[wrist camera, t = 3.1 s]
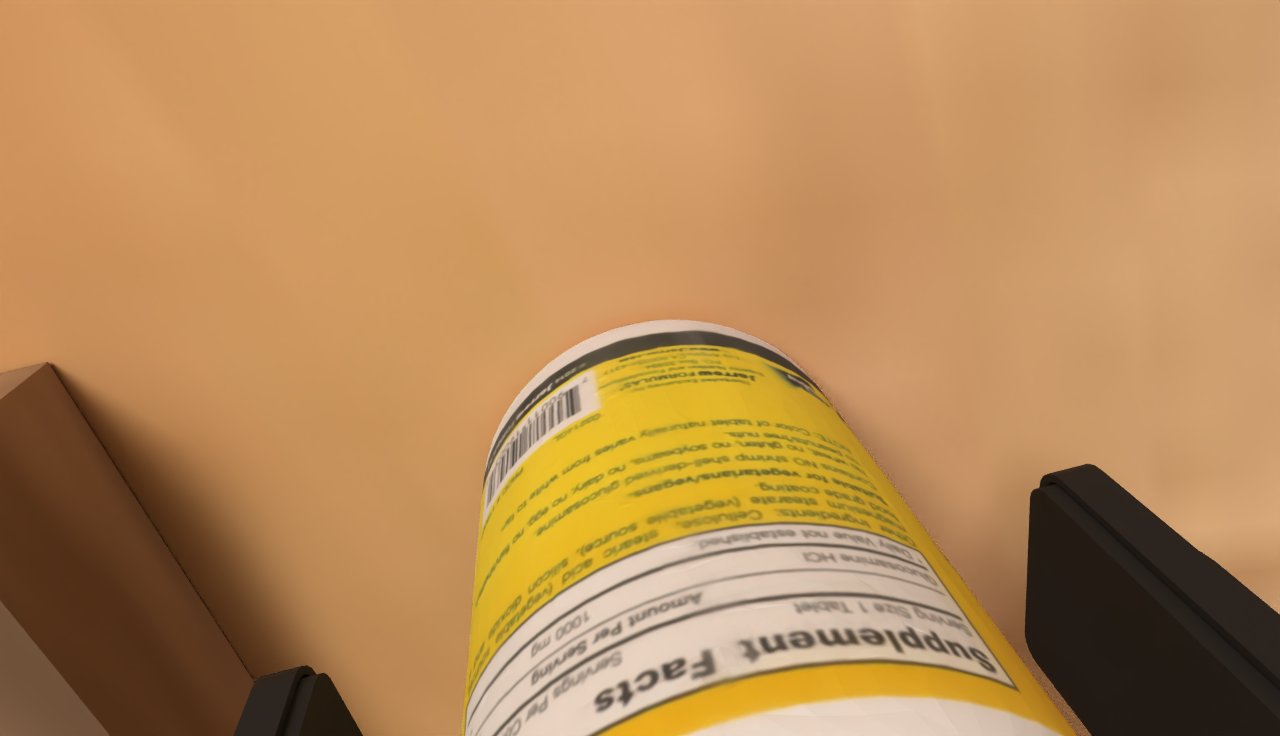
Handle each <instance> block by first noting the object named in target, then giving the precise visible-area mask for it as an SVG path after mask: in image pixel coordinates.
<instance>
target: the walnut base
mask: <svg viewBox="0 0 1280 736" xmlns="http://www.w3.org/2000/svg"><path fill="white" fill-rule="evenodd" d="M254 683H255V682H254V681H253V679H252V678H251V676H250V675H249V673H248V672H247V670H246V669H245V667H244V665H243V664H242V662H241V661H240V659H239V658H238V656H237V655H236V653H235V651H234V650H233V648H232V647H231V645H230V644H229V642H228V641H227V639H226V637H225V636H224V634H223V633H222V631H221V630H220V628H219V627H218V625H217V624H216V622H215V620H214V619H213V617H212V616H211V614H210V613H209V611H208V610H207V608H206V606H205V605H204V603H203V602H202V600H201V599H200V597H199V596H198V594H197V593H196V591H195V589H194V588H193V586H192V585H191V583H190V582H189V580H188V579H187V577H186V575H185V574H184V572H183V571H182V569H181V568H180V566H179V565H178V563H177V561H176V560H175V558H174V557H173V555H172V554H171V552H170V551H169V549H168V548H167V546H166V544H165V543H164V541H163V540H162V538H161V537H160V535H159V534H158V532H157V530H156V529H155V527H154V526H153V524H152V523H151V521H150V520H149V518H148V516H147V515H146V513H145V512H144V510H143V509H142V507H141V506H140V504H139V503H138V501H137V499H136V498H135V496H134V495H133V493H132V492H131V490H130V489H129V487H128V485H127V484H126V482H125V481H124V479H123V478H122V476H121V475H120V473H119V471H118V470H117V468H116V467H115V465H114V464H113V462H112V461H111V459H110V458H109V456H108V454H107V453H106V451H105V450H104V448H103V447H102V445H101V444H100V442H99V440H98V439H97V437H96V436H95V434H94V433H93V431H92V430H91V428H90V427H89V425H88V423H87V422H86V420H85V419H84V417H83V416H82V414H81V413H80V411H79V409H78V408H77V406H76V405H75V403H74V402H73V400H72V399H71V397H70V395H69V394H68V392H67V391H66V389H65V388H64V386H63V385H62V383H61V382H60V380H59V378H58V377H57V375H56V374H55V372H54V371H53V369H52V368H51V366H50V364H49V363H48V362H46V363H42V364H38V365H34V366H29V367H25V368H21V369H17V370H13V371H9V372H5V373H1V374H0V736H233V735H234V733H235V730H236V727H237V725H238V722H239V720H240V717H241V715H242V712H243V709H244V707H245V704H246V702H247V699H248V697H249V694H250V691H251V689H252V687H253V685H254Z"/></svg>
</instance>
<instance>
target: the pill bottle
mask: <svg viewBox="0 0 1280 736" xmlns="http://www.w3.org/2000/svg"><path fill="white" fill-rule="evenodd" d="M461 736H1078V735H1077V734H1076V733H1075V731H1074V730H1073V729H1072V727H1071V726H1070V725H1069V723H1068V722H1067V721H1066V719H1065V718H1064V717H1063V715H1062V714H1061V713H1060V711H1059V710H1058V708H1057V707H1056V706H1055V704H1054V703H1053V702H1052V700H1051V699H1050V698H1049V696H1048V695H1047V694H1046V692H1045V691H1044V690H1043V688H1042V687H1041V686H1040V684H1039V683H1038V682H1037V680H1036V679H1035V677H1034V676H1033V675H1032V673H1031V672H1030V671H1029V669H1028V668H1027V667H1026V665H1025V664H1024V663H1023V661H1022V660H1021V659H1020V657H1019V656H1018V655H1017V653H1016V652H1015V651H1014V649H1013V648H1012V646H1011V645H1010V644H1009V642H1008V641H1007V640H1006V638H1005V637H1004V636H1003V634H1002V633H1001V631H1000V630H999V629H998V627H997V626H996V625H995V623H994V622H993V621H992V619H991V618H990V616H989V615H988V614H987V612H986V611H985V610H984V608H983V607H982V606H981V604H980V603H979V602H978V600H977V599H976V597H975V596H974V595H973V593H972V592H971V591H970V589H969V588H968V586H967V585H966V584H965V582H964V581H963V579H962V578H961V577H960V575H959V574H958V573H957V571H956V570H955V569H954V568H953V566H952V565H951V564H950V562H949V561H948V560H947V559H946V557H945V556H944V555H943V553H942V552H941V551H940V549H939V548H938V546H937V545H936V544H935V542H934V541H933V540H932V538H931V537H930V535H929V534H928V533H927V531H926V530H925V529H924V527H923V526H922V525H921V523H920V522H919V521H918V519H917V518H916V517H915V515H914V514H913V513H912V511H911V510H910V509H909V507H908V506H907V504H906V503H905V502H904V500H903V499H902V497H901V496H900V495H899V493H898V492H897V490H896V489H895V488H894V486H893V485H892V483H891V482H890V481H889V479H888V478H887V477H886V475H885V474H884V473H883V471H882V470H881V469H880V467H879V466H878V465H877V464H876V462H875V461H874V460H873V459H872V457H871V456H870V455H869V453H868V452H867V451H866V449H865V448H864V447H863V445H862V444H861V443H860V442H859V440H858V439H857V438H856V436H855V435H854V433H853V432H852V431H851V429H850V428H849V427H848V425H847V424H846V423H845V421H844V420H843V419H842V417H841V416H840V415H839V413H838V412H837V410H836V409H835V408H834V407H833V405H832V404H831V403H830V402H829V400H828V399H827V398H826V397H825V395H824V394H823V393H822V392H821V390H820V389H819V388H818V387H817V385H816V384H815V383H814V382H813V381H812V380H811V378H810V377H809V376H808V375H807V374H806V373H805V371H803V370H802V369H801V368H800V367H799V366H798V365H797V364H796V363H795V362H794V361H793V360H792V359H790V358H789V357H788V356H787V355H785V354H784V353H783V352H781V351H780V350H778V349H777V348H775V347H774V346H772V345H770V344H768V343H767V342H765V341H763V340H761V339H759V338H757V337H755V336H752V335H749V334H747V333H744V332H741V331H739V330H736V329H733V328H730V327H726V326H722V325H718V324H714V323H708V322H701V321H692V320H654V321H648V322H642V323H637V324H632V325H628V326H624V327H620V328H616V329H612V330H609V331H607V332H604V333H601V334H598V335H596V336H593V337H591V338H589V339H586V340H584V341H582V342H581V343H579V344H577V345H575V346H573V347H572V348H570V349H568V350H567V351H565V352H563V353H562V354H561V355H559V356H558V357H557V358H555V359H554V360H553V361H551V362H550V363H549V364H548V365H546V366H545V367H544V368H543V369H542V370H541V371H540V372H539V373H538V374H536V375H535V376H534V377H533V378H532V380H531V381H530V382H529V383H528V384H527V385H526V386H525V387H524V388H523V389H522V391H521V392H520V393H519V395H518V396H517V397H516V399H515V400H514V401H513V403H512V404H511V406H510V407H509V409H508V410H507V412H506V414H505V415H504V417H503V419H502V421H501V423H500V425H499V427H498V429H497V432H496V434H495V436H494V439H493V442H492V445H491V448H490V451H489V455H488V459H487V464H486V470H485V476H484V484H483V491H482V498H481V511H480V521H479V532H478V544H477V556H476V568H475V579H474V591H473V603H472V616H471V629H470V642H469V655H468V667H467V678H466V687H465V697H464V708H463V719H462V731H461Z"/></svg>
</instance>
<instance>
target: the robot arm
mask: <svg viewBox="0 0 1280 736" xmlns="http://www.w3.org/2000/svg"><path fill="white" fill-rule="evenodd" d="M1025 638H1026V642H1027V645H1028V648H1029V650H1030V652H1031V654H1032V656H1033V658H1034V660H1035V661H1036V663H1037V664H1038V665H1039V667H1040V668H1041V669H1042V671H1043V672H1044V673H1045V675H1046V676H1047V677H1048V679H1049V680H1050V681H1051V682H1052V684H1053V685H1054V686H1055V688H1056V689H1057V690H1058V692H1059V693H1060V694H1061V696H1062V697H1063V698H1064V700H1065V701H1066V702H1067V703H1068V705H1069V706H1070V707H1071V709H1072V710H1073V711H1074V713H1075V714H1076V715H1077V717H1078V718H1079V719H1080V720H1081V722H1082V723H1083V724H1084V726H1085V727H1086V728H1087V730H1088V731H1089V732H1090V734H1091V735H1092V736H1280V615H1279V614H1278V613H1277V612H1276V611H1275V610H1273V609H1272V608H1271V607H1270V606H1268V605H1267V604H1266V603H1265V602H1264V601H1262V600H1261V599H1260V598H1259V597H1258V596H1256V595H1255V594H1254V593H1253V592H1252V591H1250V590H1249V589H1248V588H1247V587H1245V586H1244V585H1243V584H1242V583H1241V582H1239V581H1238V580H1237V579H1236V578H1235V577H1233V576H1232V575H1231V574H1230V573H1229V572H1227V571H1226V570H1225V569H1224V568H1222V567H1221V566H1220V565H1219V564H1218V563H1216V562H1215V561H1214V560H1212V559H1211V558H1209V557H1208V556H1206V555H1205V554H1203V553H1202V552H1200V551H1198V550H1197V549H1196V548H1195V547H1194V546H1192V545H1191V544H1190V543H1189V542H1188V541H1186V540H1185V539H1184V538H1183V537H1181V536H1180V535H1179V534H1178V533H1177V532H1175V531H1174V530H1173V529H1172V528H1171V527H1169V526H1168V525H1167V524H1166V523H1165V522H1163V521H1162V520H1161V519H1160V518H1159V517H1157V516H1156V515H1155V514H1154V513H1153V512H1151V511H1150V510H1149V509H1148V508H1147V507H1145V506H1144V505H1143V504H1142V503H1141V502H1139V501H1138V500H1137V499H1136V498H1135V497H1133V496H1132V495H1131V494H1130V493H1129V492H1127V491H1126V490H1125V489H1124V488H1123V487H1121V486H1120V485H1119V484H1118V483H1117V482H1115V481H1114V480H1113V479H1112V478H1110V477H1109V476H1108V475H1107V474H1106V473H1104V472H1103V471H1102V470H1101V469H1099V468H1098V467H1096V466H1095V465H1091V464H1085V465H1081V466H1077V467H1073V468H1069V469H1065V470H1061V471H1058V472H1054V473H1050V474H1047V475H1044V476H1043V478H1042V479H1041V482H1040V487H1039V488H1037V489H1034V490H1033V491H1032V493H1031V496H1030V514H1029V539H1028V565H1027V591H1026V616H1025ZM233 736H363V735H362V733H361V731H360V730H359V728H358V726H357V724H356V723H355V721H354V719H353V717H352V716H351V714H350V712H349V710H348V709H347V707H346V705H345V703H344V702H343V700H342V698H341V696H340V695H339V693H338V691H337V689H336V688H335V686H334V684H333V682H332V681H331V679H330V678H329V676H328V675H327V674H325V673H321V674H316V673H315V672H314V670H313V669H312V668H311V667H309V666H307V665H306V666H301V667H297V668H293V669H289V670H285V671H281V672H277V673H274V674H270V675H266V676H262V677H260V678H259V679H258V680H256V681H255V683H254V685H253V687H252V689H251V691H250V694H249V697H248V699H247V702H246V704H245V707H244V709H243V712H242V715H241V717H240V720H239V722H238V725H237V727H236V730H235V733H234V735H233Z"/></svg>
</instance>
